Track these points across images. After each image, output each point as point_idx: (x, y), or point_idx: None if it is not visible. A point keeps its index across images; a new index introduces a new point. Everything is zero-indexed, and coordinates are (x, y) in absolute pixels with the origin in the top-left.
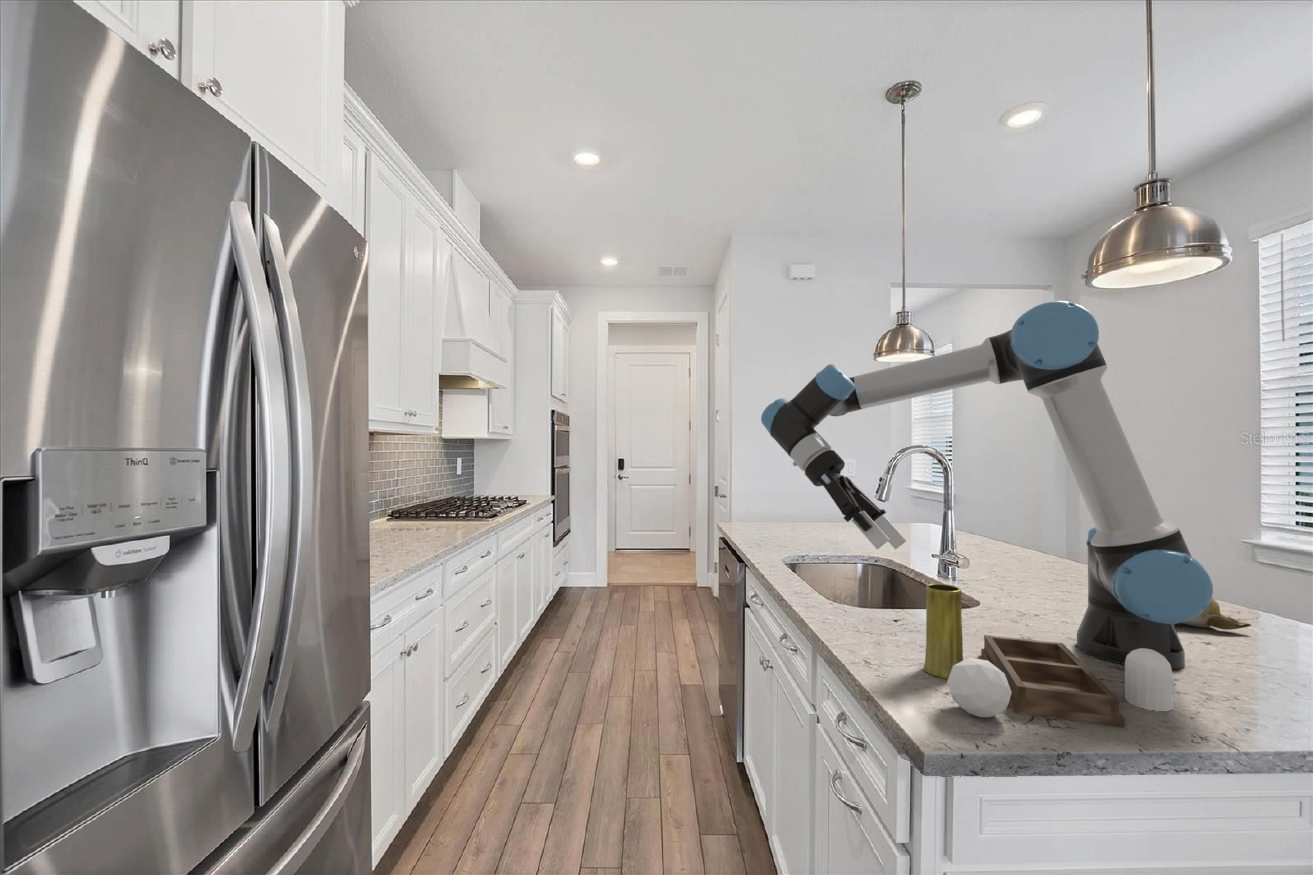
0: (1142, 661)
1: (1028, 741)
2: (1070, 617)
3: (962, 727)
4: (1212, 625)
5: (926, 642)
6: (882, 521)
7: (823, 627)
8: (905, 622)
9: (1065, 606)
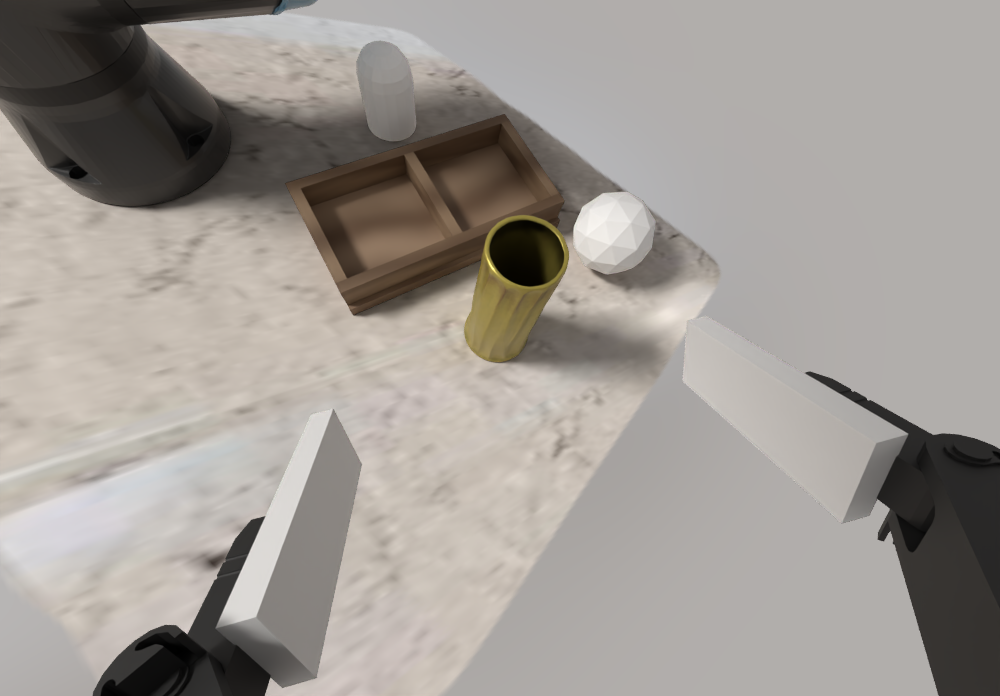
0: (406, 66)
1: None
2: None
3: (648, 257)
4: None
5: (527, 335)
6: (297, 585)
7: (433, 666)
8: (215, 531)
9: None
